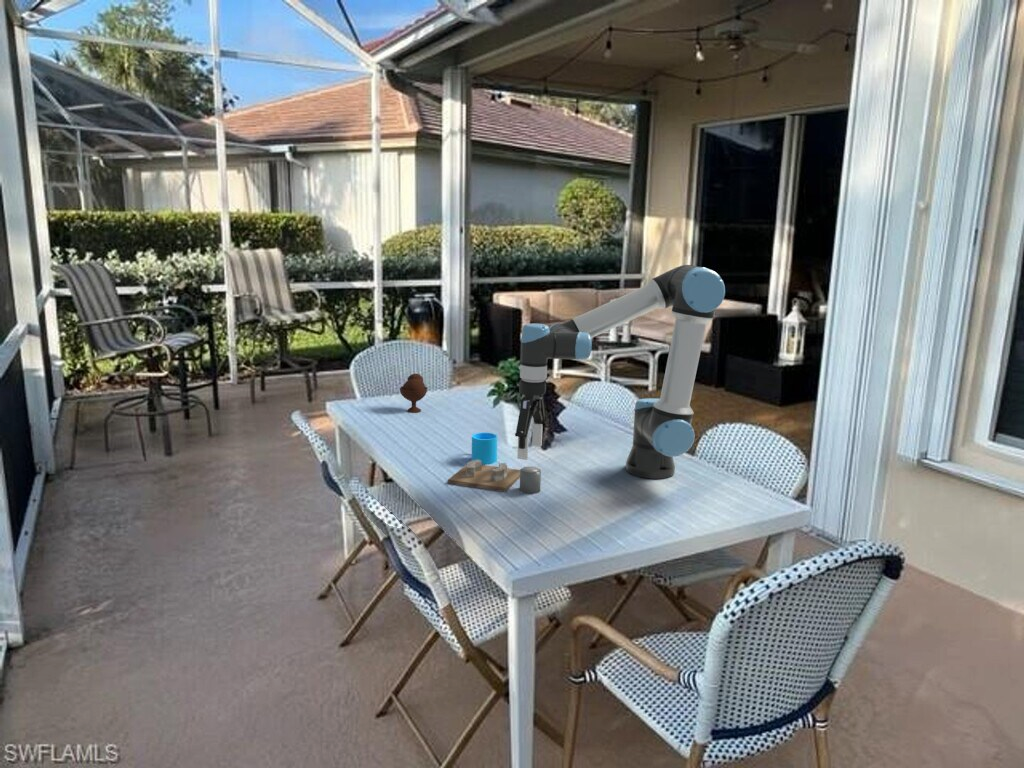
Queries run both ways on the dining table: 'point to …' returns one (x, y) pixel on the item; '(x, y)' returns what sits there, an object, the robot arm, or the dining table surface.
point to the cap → (530, 480)
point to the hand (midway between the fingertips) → (529, 452)
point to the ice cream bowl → (414, 391)
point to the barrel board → (485, 476)
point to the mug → (484, 447)
